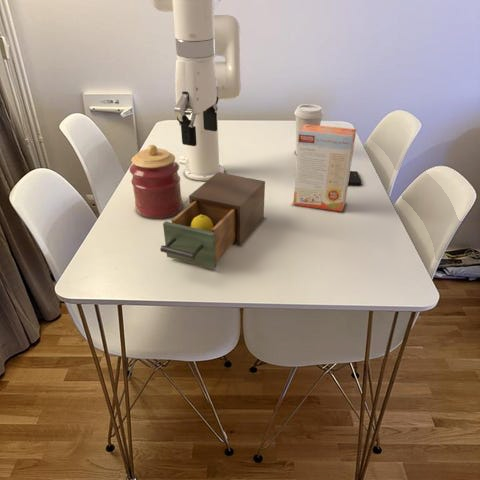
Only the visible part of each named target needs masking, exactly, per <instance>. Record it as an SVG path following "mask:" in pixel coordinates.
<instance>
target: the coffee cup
mask: <svg viewBox="0 0 480 480" xmlns="http://www.w3.org/2000/svg"><path fill="white" fill-rule="evenodd" d="M294 115H295V154H296V155H297V151H298V139H299V130H300V129H301V128H302V126H303V125H304V124H309V125H319V126H321V124H322V123H321V122H322V118H323V117H324V110H323V108H322V106H320V105H319V104H318V105H317V104H314V103H313V104H312V103H304V104H300V105H298V106H297V108H296V109H295V111H294Z"/></svg>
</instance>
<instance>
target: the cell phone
mask: <svg viewBox="0 0 480 480" xmlns="http://www.w3.org/2000/svg"><path fill="white" fill-rule="evenodd" d="M361 185H362V181H361V177H360V175H359V172H358V171H356V170H350V175H349V182H348V186H361Z"/></svg>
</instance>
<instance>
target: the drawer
mask: <svg viewBox="0 0 480 480" xmlns="http://www.w3.org/2000/svg"><path fill="white" fill-rule="evenodd" d="M201 214H202V215H205V216H207V217H209V218H210V219H211V221H212V223H213V226H214V228H213V229H212V232H210V231H205V230H201V229H197V228H193V227H191V223H192V220H193V219H194V218H195V217H197V216H199V215H201ZM162 227H163V234H164V243H165V244H163V245H161V246H160V249H159V250H160V252H162V253H165V254H166V257H167V258H169V259H174V260H176V261H180V262H185V263H189V264H192V265H196V266H200V267H203V268H208V269H210V270H211V269H212V270H215V269H216V267H217V262H218V260H219V259H220V258H221V257H222V256H223V255H224V254H225V252H226V251H227V250H228V249H229V248H230V247H231V246H232V245H233V244H232V243H233V242H234V241H235V240H236V239H237V209H235V208H230V207H225V206H221V205H216V204H211V203H206V202H202V201H197V200H195V201H194V202H192V203H191V204H189V205H188V206H186V207H185V208H184V209H183V210H182V211H180V212H178V213H177V215H176V216H175V217H173V218H172V219H171V221H167V220H165V221H164V222H163V223H162Z"/></svg>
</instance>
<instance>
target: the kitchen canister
mask: <svg viewBox="0 0 480 480" xmlns="http://www.w3.org/2000/svg"><path fill="white" fill-rule="evenodd" d="M130 160H131V163H132V164H131V165H130V167H129V173H130V174H131V175H132V178H131V181H130V182H131V184H132V189H133V196H134V206H135V209H136V212H137V213H138V214H139V215H140V216H142V217H145V218H148V219H166V218H170V217H173V216H175V215H176V214H177V215H178V214H179V213H180V212H181V210H182V207H183V206H182V205H183V198H182V191H181V177H180V175H179V173H178V171H179V170H180V164H179V162H177V161H175V160H176V155H174V153H172V152H170V151H168V150H166V149H163V148H158V147H157V145H155V144H149V145H148V146H147V148H146V149H142V150H140V151H138V152H137V153H136V154H135V155H134V156H132V158H131V159H130Z"/></svg>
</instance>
